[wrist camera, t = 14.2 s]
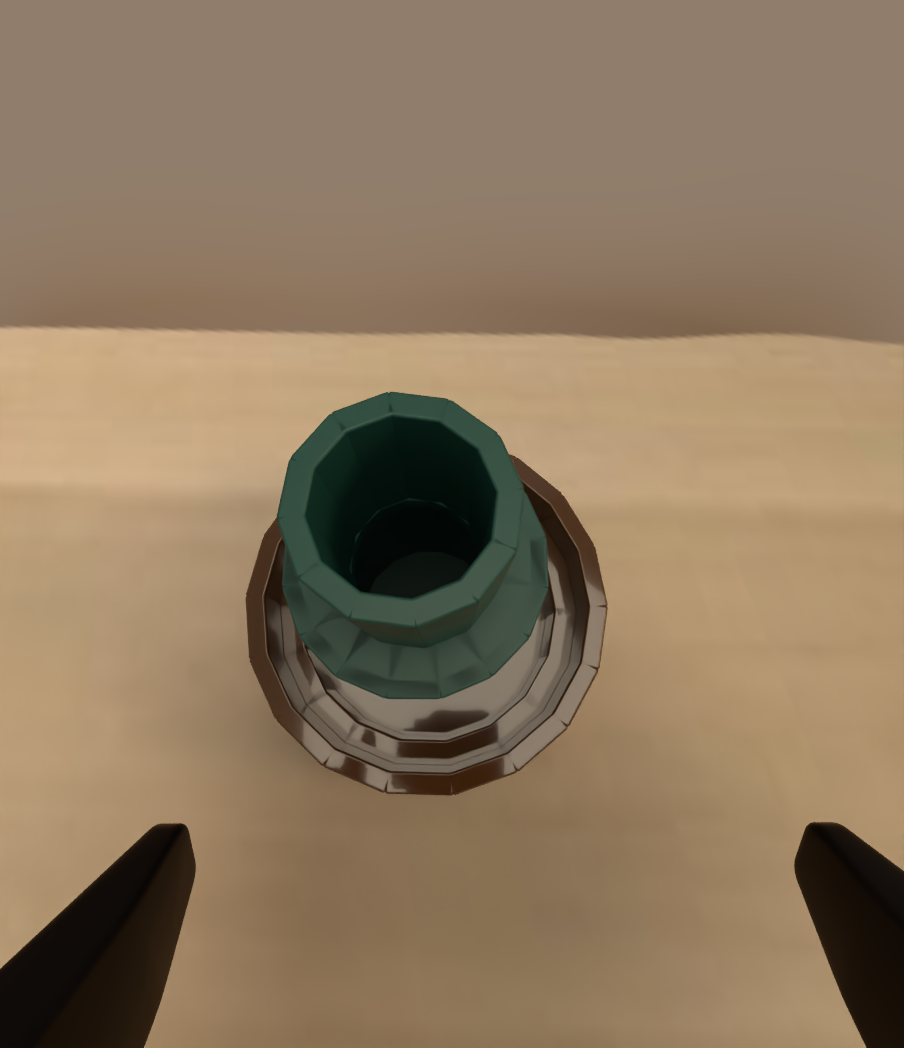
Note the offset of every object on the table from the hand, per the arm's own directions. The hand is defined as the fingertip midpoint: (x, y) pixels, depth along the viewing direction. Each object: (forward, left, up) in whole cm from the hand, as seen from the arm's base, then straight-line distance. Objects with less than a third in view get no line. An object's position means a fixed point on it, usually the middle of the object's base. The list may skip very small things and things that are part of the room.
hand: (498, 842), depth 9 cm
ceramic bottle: (+2, +5, -12) cm, 13 cm away
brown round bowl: (+2, +5, -13) cm, 14 cm away
